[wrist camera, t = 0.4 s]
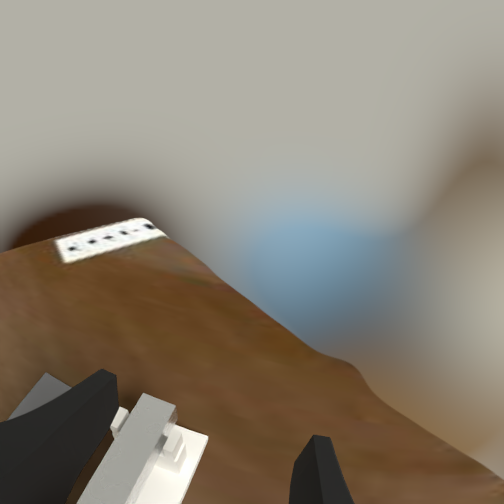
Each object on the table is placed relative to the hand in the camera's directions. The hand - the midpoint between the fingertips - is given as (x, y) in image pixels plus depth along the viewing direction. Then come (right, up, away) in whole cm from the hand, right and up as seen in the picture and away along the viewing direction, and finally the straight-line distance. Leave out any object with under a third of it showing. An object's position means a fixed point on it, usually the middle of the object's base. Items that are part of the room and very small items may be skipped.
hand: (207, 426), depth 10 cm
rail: (-10, -14, +4) cm, 17 cm away
